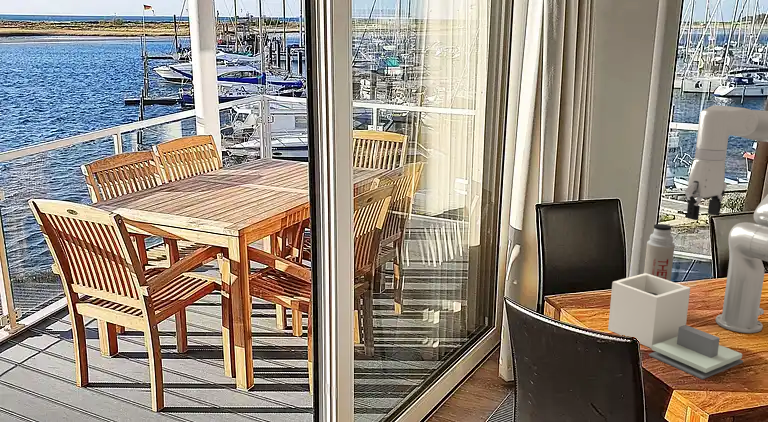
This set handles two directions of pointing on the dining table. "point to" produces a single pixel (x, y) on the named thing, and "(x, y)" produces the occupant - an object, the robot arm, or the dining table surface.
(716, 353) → the lid
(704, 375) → the mat
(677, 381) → the dining table surface
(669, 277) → the thermos bottle
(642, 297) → the storage box
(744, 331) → the robot arm
